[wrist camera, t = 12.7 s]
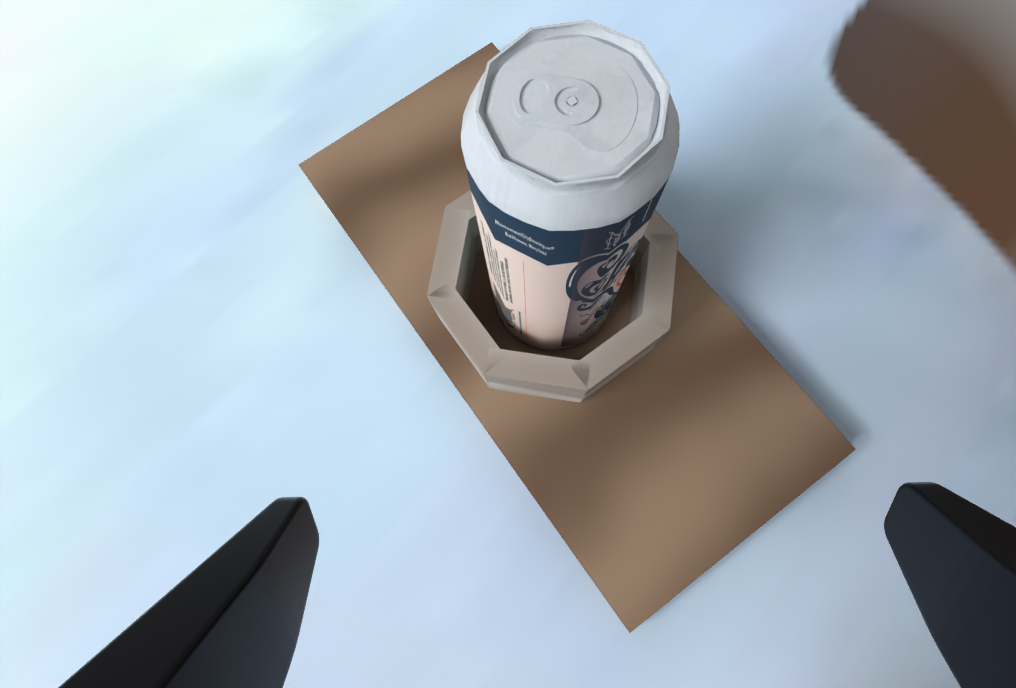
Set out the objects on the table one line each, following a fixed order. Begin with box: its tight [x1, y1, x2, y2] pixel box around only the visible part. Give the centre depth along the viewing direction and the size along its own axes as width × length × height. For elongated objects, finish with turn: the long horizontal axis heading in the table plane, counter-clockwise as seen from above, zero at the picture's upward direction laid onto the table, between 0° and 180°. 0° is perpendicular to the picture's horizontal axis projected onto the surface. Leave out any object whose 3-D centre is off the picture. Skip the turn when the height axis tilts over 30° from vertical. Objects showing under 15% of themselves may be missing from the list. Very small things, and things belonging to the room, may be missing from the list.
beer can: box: [461, 20, 679, 350], centre depth 16 cm, size 5×5×12 cm
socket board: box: [299, 42, 855, 633], centre depth 21 cm, size 24×11×4 cm, turn 36°
